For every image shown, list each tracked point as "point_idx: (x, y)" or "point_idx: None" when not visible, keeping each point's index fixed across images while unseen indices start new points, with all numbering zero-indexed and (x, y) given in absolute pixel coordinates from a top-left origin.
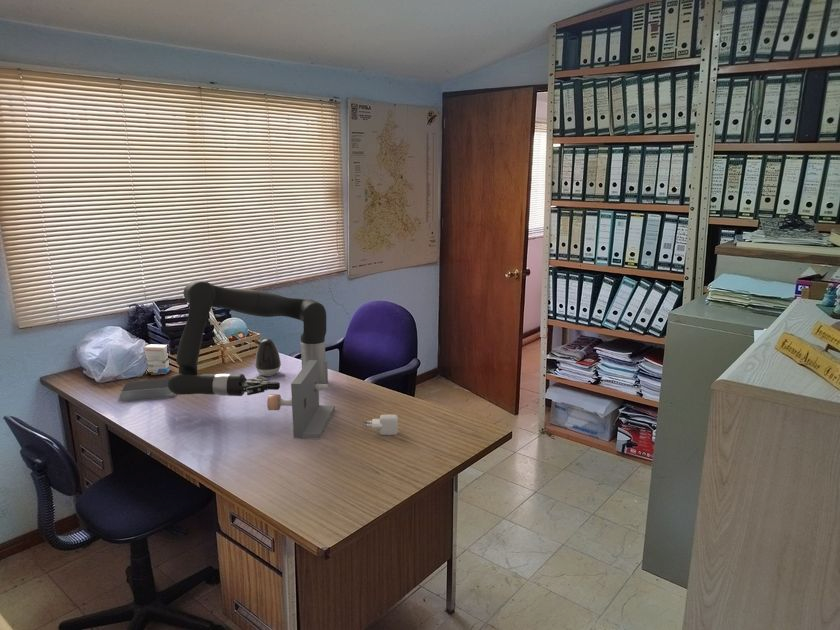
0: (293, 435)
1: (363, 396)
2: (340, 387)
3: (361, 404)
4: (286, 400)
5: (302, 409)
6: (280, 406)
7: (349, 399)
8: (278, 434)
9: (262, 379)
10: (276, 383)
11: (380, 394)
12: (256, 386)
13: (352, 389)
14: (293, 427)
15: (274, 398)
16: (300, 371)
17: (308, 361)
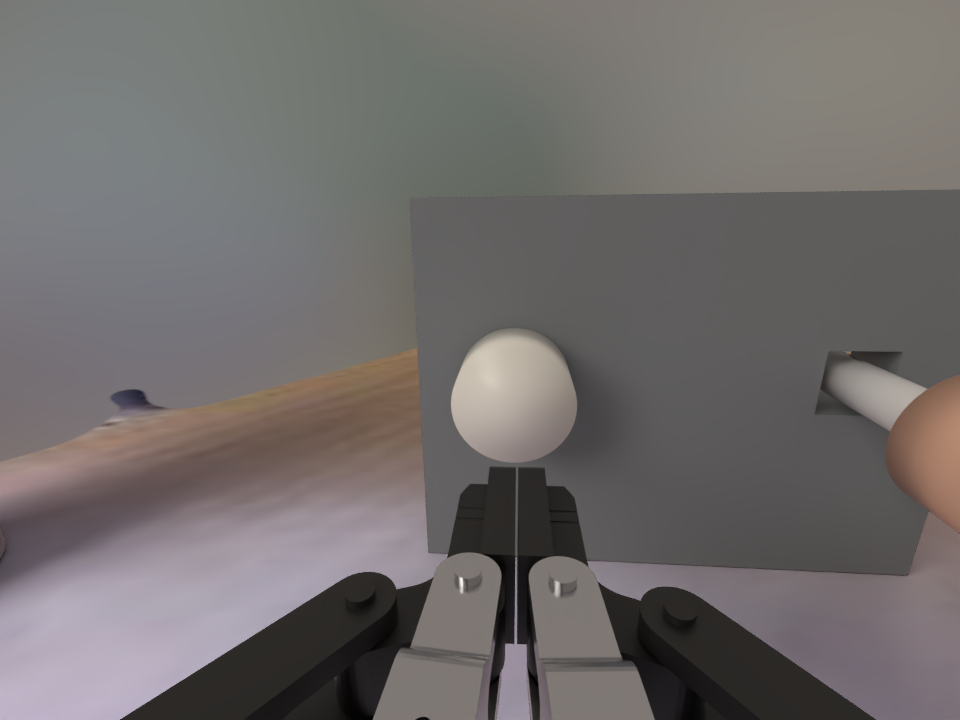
0: (912, 560)
1: (316, 417)
2: (133, 474)
3: (404, 417)
4: (926, 388)
5: None
6: (906, 492)
7: (333, 442)
8: (950, 676)
9: (279, 702)
10: (538, 476)
11: (317, 391)
12: (848, 715)
13: (204, 442)
14: (924, 511)
15: None
16: (710, 193)
17: (446, 197)
